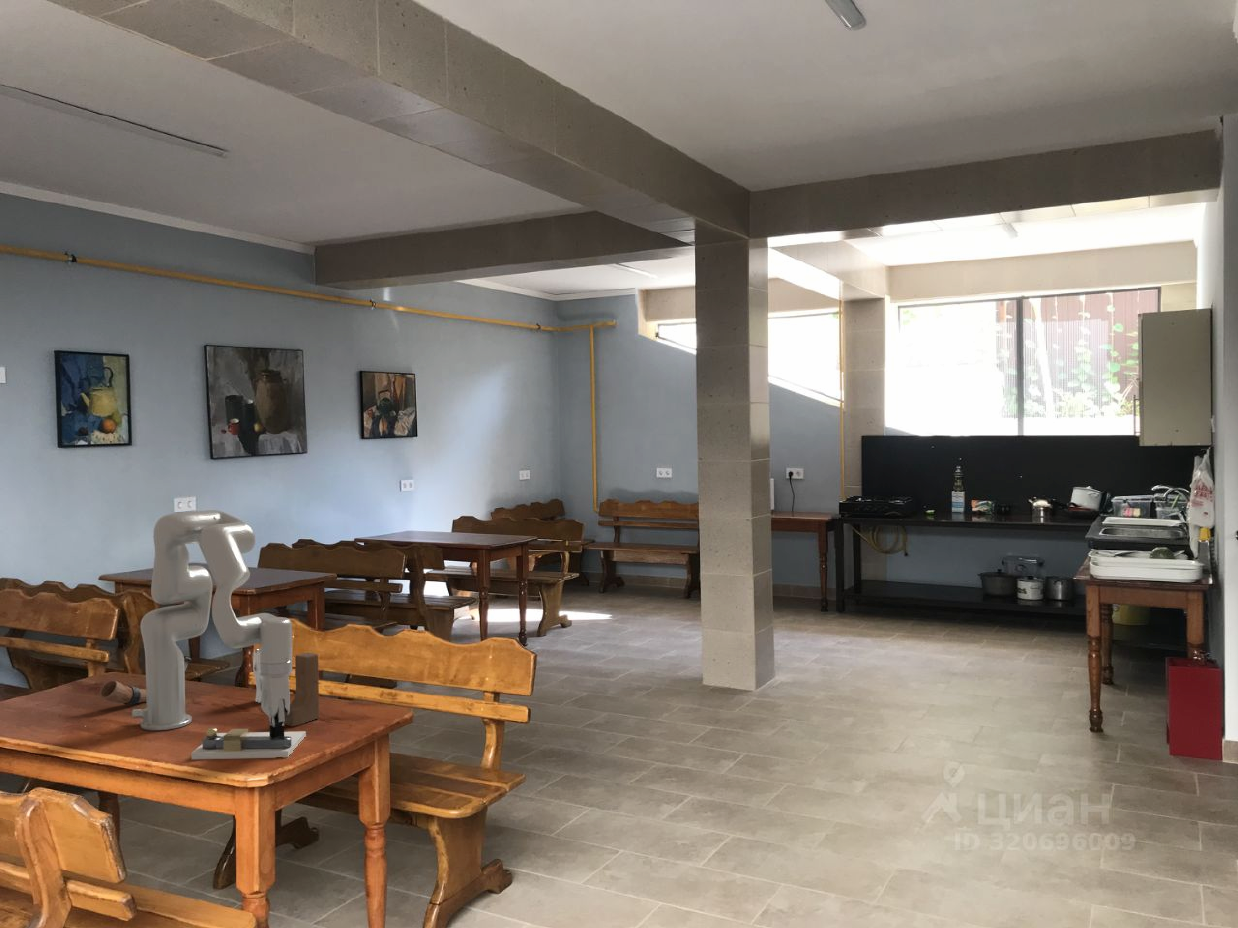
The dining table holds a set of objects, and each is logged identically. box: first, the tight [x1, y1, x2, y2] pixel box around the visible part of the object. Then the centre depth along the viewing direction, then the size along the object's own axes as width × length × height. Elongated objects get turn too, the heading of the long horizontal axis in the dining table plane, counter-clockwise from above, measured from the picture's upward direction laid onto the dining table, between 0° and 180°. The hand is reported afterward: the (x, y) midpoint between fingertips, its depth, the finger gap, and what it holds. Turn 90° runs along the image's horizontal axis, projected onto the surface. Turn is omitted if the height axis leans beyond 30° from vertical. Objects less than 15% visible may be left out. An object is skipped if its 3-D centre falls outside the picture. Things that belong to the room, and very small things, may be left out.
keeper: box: [206, 727, 249, 752], centre depth 243 cm, size 9×6×5 cm, turn 93°
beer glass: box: [252, 648, 263, 704], centre depth 291 cm, size 7×7×15 cm
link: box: [201, 736, 292, 749], centre depth 243 cm, size 22×4×2 cm, turn 89°
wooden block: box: [284, 652, 320, 728], centre depth 270 cm, size 9×4×18 cm, turn 146°
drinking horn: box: [99, 657, 192, 705], centre depth 293 cm, size 6×30×10 cm, turn 154°
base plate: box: [191, 730, 307, 760], centre depth 248 cm, size 23×16×2 cm
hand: (276, 740), depth 247 cm, fingers closed
